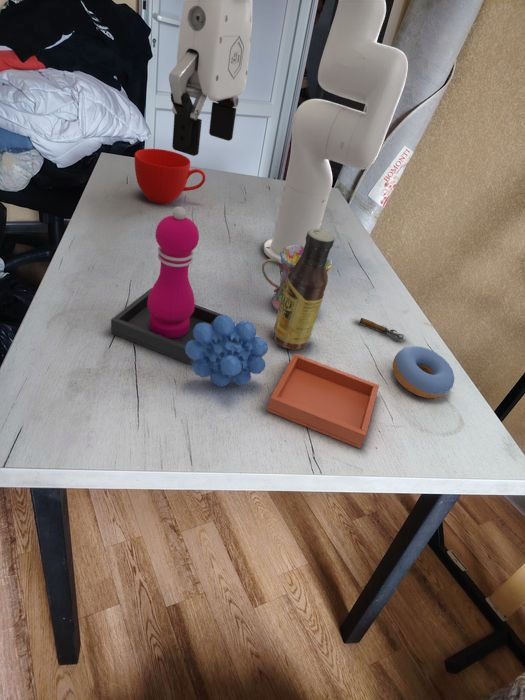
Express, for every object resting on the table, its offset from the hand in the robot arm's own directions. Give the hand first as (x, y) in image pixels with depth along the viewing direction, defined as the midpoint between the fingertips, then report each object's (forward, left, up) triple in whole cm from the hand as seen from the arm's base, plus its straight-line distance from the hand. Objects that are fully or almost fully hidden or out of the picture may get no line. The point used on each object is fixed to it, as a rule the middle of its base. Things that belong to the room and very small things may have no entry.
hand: (203, 144), depth 60 cm
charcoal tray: (+1, -2, -29) cm, 29 cm away
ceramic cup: (-47, -29, -29) cm, 62 cm away
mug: (-18, +12, -29) cm, 36 cm away
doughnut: (-10, +38, -29) cm, 49 cm away
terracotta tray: (+4, +25, -29) cm, 39 cm away
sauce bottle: (-8, +16, -29) cm, 34 cm away
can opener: (-21, +30, -29) cm, 47 cm away
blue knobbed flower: (+9, +11, -29) cm, 33 cm away
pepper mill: (+1, -2, -29) cm, 29 cm away
